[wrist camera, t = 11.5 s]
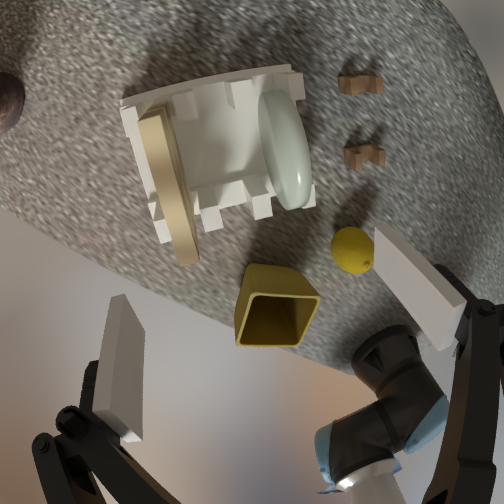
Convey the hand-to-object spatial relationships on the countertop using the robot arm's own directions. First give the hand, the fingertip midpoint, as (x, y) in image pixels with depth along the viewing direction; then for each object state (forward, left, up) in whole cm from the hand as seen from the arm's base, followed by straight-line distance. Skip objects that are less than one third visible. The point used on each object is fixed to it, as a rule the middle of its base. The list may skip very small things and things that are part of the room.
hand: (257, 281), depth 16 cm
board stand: (+2, -18, -23) cm, 29 cm away
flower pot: (-18, -3, -23) cm, 30 cm away
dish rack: (+2, -1, -23) cm, 23 cm away
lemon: (-14, -15, -23) cm, 31 cm away
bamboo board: (+2, +4, -21) cm, 21 cm away
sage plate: (+2, -6, -21) cm, 21 cm away
